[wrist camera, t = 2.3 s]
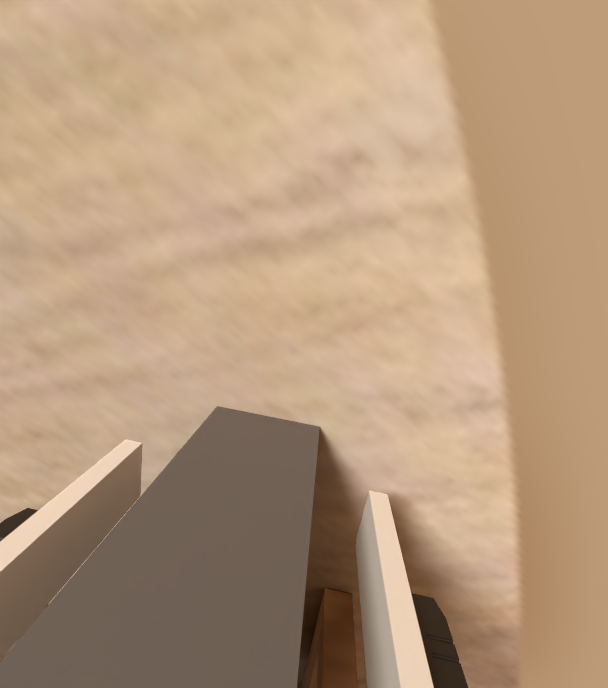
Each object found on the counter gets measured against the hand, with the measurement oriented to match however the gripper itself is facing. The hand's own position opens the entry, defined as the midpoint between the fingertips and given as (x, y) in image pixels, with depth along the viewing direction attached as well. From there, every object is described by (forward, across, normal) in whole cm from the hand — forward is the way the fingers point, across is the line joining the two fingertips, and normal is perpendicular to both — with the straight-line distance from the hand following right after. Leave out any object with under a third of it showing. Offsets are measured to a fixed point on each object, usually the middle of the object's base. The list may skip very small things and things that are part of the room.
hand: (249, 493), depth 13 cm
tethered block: (+2, 0, -9) cm, 9 cm away
